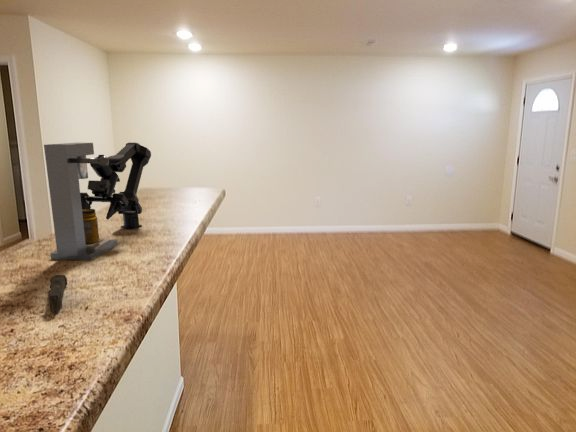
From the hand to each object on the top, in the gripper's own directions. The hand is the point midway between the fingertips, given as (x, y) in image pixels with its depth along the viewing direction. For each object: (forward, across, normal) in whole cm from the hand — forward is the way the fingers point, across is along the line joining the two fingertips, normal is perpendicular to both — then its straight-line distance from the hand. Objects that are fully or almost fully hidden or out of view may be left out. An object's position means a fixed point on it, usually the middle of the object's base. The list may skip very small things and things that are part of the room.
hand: (94, 218), depth 148 cm
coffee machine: (+13, +4, +1) cm, 14 cm away
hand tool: (+40, +16, -26) cm, 50 cm away
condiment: (+10, 0, +2) cm, 10 cm away
